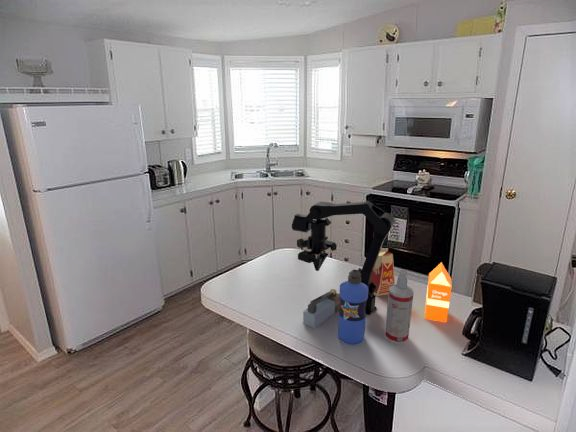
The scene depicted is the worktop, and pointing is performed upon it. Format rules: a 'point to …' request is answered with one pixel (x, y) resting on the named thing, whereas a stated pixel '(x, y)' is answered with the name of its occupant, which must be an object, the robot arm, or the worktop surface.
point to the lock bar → (324, 297)
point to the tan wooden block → (336, 301)
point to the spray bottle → (399, 310)
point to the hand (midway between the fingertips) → (317, 270)
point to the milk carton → (383, 272)
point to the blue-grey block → (318, 312)
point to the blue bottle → (352, 309)
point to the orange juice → (438, 294)
